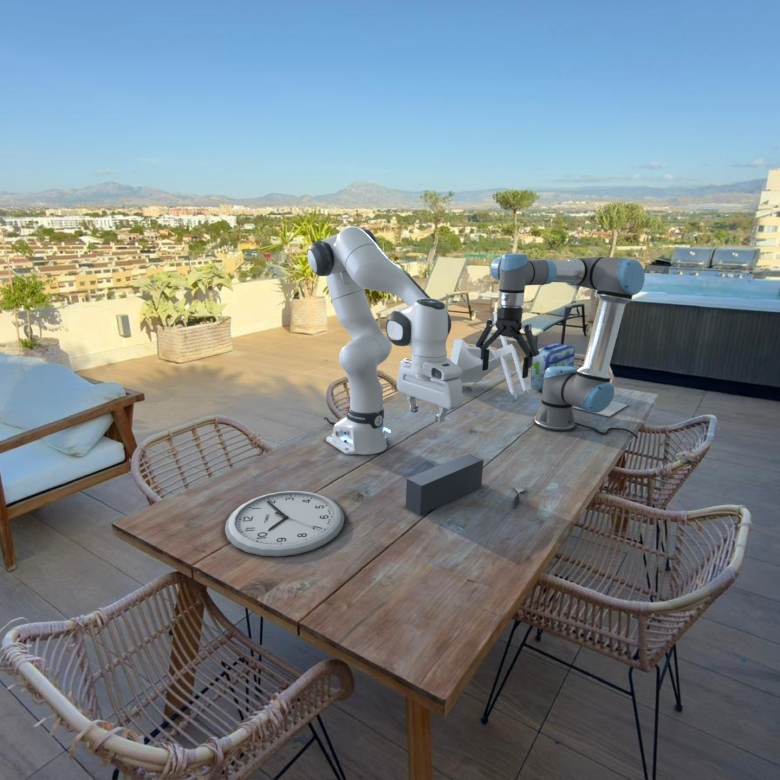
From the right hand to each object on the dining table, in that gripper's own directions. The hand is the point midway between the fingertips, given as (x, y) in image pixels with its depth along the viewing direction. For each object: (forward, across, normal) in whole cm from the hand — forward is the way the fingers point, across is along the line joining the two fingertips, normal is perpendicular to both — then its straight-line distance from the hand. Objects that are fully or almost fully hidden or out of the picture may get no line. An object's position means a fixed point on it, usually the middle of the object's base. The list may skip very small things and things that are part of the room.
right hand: (504, 373), depth 165 cm
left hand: (+3, -2, -42) cm, 42 cm away
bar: (+29, 0, -33) cm, 44 cm away
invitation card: (+29, +12, +77) cm, 83 cm away
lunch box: (+29, -15, +90) cm, 96 cm away
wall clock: (+29, -26, -70) cm, 80 cm away
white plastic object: (+29, -39, +62) cm, 79 cm away
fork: (+29, +16, -21) cm, 39 cm away
